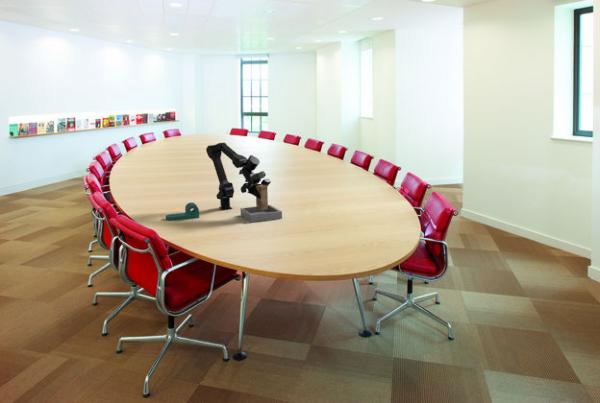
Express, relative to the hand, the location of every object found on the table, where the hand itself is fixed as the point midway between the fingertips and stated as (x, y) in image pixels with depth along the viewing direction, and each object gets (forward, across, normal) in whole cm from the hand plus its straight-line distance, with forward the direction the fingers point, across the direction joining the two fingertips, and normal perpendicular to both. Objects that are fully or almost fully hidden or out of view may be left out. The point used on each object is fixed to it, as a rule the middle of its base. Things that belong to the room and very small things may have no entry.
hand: (263, 197), depth 266 cm
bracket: (-16, -30, +33) cm, 47 cm away
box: (+6, 0, +10) cm, 12 cm away
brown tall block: (+4, 0, +6) cm, 7 cm away
